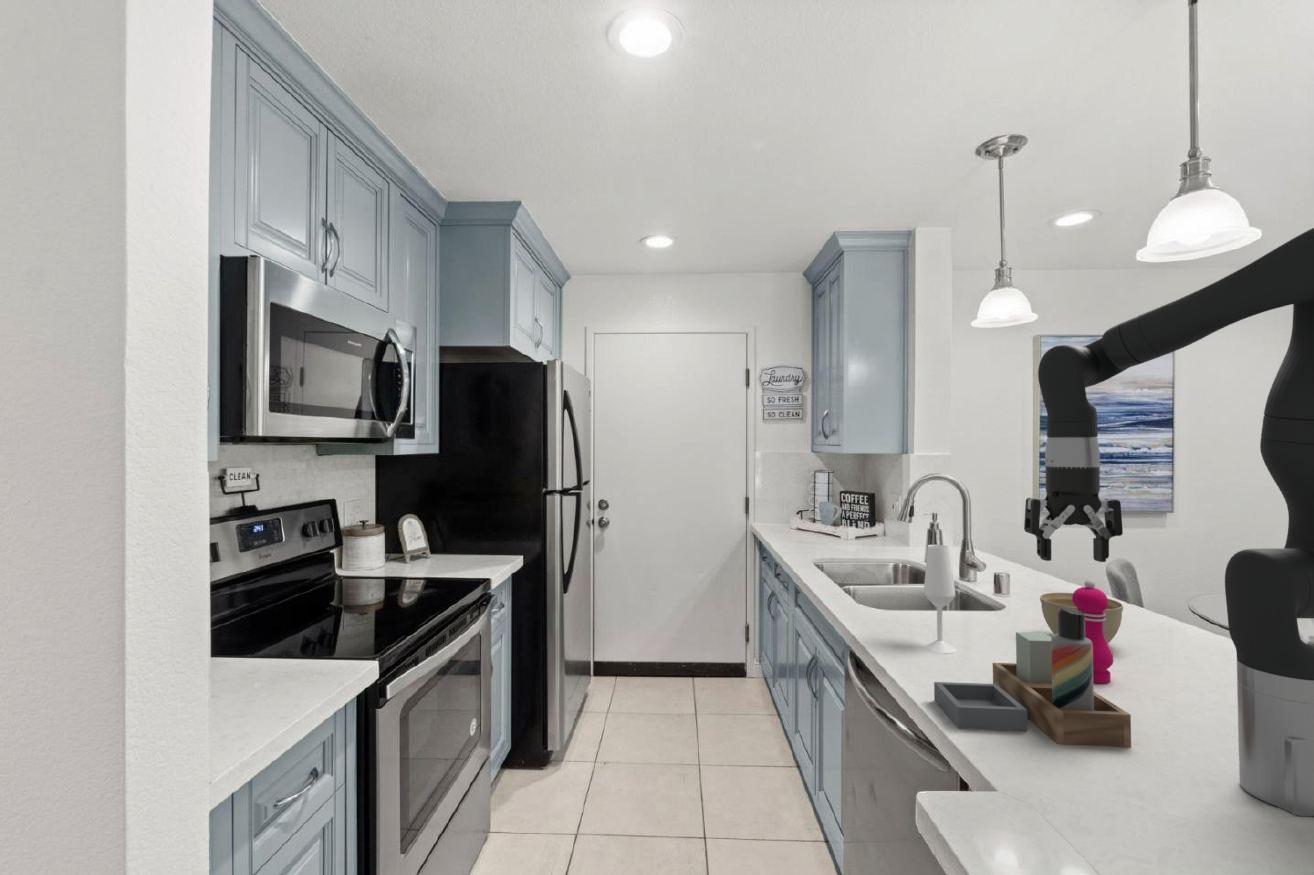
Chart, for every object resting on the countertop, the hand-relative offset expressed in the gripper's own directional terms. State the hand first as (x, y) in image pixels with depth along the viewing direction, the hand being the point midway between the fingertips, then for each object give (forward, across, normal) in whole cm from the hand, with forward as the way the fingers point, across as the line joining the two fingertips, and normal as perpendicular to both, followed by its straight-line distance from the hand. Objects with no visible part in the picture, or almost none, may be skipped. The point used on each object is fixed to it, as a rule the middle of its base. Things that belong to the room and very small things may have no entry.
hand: (1072, 560), depth 100 cm
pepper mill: (+29, +16, +24) cm, 41 cm away
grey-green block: (+28, 0, +11) cm, 30 cm away
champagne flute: (+29, -8, +40) cm, 50 cm away
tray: (+28, -14, +4) cm, 32 cm away
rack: (+28, 0, +5) cm, 29 cm away
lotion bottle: (+28, 0, 0) cm, 28 cm away
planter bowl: (+29, +26, +45) cm, 59 cm away
